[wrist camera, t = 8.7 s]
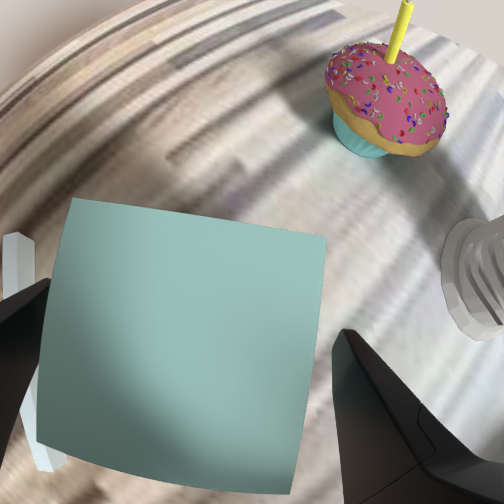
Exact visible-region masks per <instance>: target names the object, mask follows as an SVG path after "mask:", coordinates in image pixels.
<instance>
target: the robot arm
mask: <svg viewBox="0 0 504 504" xmlns="http://www.w3.org/2000/svg"><path fill="white" fill-rule="evenodd" d="M50 284H51V279H49V278H45V279H43V280H41V281H39V282H37V283H35V284H33V285H31V286H29V287H27V288H25V289H23V290H21V291H19V292H17V293H15V294H13V295H11V296H10V297H8V298H6V299H4V300H2V301H0V468H1V465H2V461H3V458H4V455H5V451H6V448H7V445H8V442H9V438H10V435H11V433H12V430H13V427H14V424H15V421H16V418H17V416H18V413H19V410H20V408H21V405H22V402H23V400H24V397H25V395H26V392H27V390H28V387H29V385H30V382H31V380H32V378H33V375H34V373H35V371H36V368H37V366H38V364H39V358H40V348H41V340H42V332H43V325H44V318H45V311H46V305H47V300H48V294H49V289H50ZM332 393H333V403H334V411H335V419H336V427H337V435H338V444H339V453H340V463H341V473H342V483H343V495H344V504H504V464H502V463H496V462H491V461H487V460H484V459H481V458H479V457H478V456H476V455H475V454H473V453H472V452H471V451H470V450H469V449H468V448H467V447H466V446H465V445H464V444H462V443H461V442H460V441H459V440H458V439H457V438H456V437H455V436H454V435H453V434H452V433H451V432H450V431H449V430H447V429H446V428H445V427H444V426H443V425H442V424H441V423H440V422H439V421H438V420H437V419H436V418H435V416H434V415H433V414H432V413H431V412H430V411H429V410H428V409H427V408H426V407H425V406H424V405H423V403H421V401H420V400H419V399H418V398H417V397H416V396H415V395H414V394H413V392H412V391H411V390H410V389H409V388H408V387H407V386H406V385H405V384H404V383H403V381H402V380H401V379H400V378H399V377H398V376H397V375H396V374H395V373H394V372H393V370H392V369H391V368H390V367H389V366H388V365H387V364H386V363H385V362H384V361H383V360H382V359H381V357H380V356H379V355H378V354H377V353H376V352H375V351H374V350H373V349H372V348H371V347H370V346H369V344H368V343H367V342H366V341H365V340H364V339H363V338H362V337H361V336H360V335H359V334H358V333H357V332H356V331H355V330H354V329H345V328H344V329H341V331H340V332H339V334H338V336H337V339H336V341H335V343H334V345H333V347H332Z"/></svg>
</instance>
